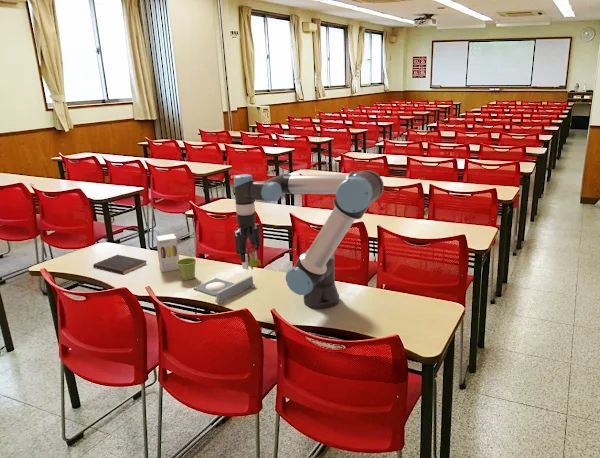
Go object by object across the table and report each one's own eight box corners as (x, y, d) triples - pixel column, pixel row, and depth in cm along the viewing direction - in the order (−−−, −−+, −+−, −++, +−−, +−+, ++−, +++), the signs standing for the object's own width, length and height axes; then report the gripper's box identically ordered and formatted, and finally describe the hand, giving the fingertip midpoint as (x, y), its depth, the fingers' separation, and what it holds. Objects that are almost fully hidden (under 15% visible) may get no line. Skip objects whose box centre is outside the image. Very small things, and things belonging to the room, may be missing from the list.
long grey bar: (255, 285, 226) (254, 276, 225) (221, 303, 210) (220, 294, 208) (249, 284, 229) (248, 275, 227) (214, 301, 212) (213, 292, 211)
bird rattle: (241, 273, 204) (255, 269, 198) (231, 249, 203) (245, 243, 197) (250, 268, 208) (265, 264, 203) (241, 244, 208) (255, 239, 202)
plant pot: (175, 281, 236) (172, 264, 233) (184, 273, 245) (182, 257, 242) (192, 282, 234) (190, 265, 231) (201, 274, 242) (199, 258, 240)
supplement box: (161, 272, 247) (157, 240, 242) (159, 266, 256) (154, 236, 251) (180, 268, 251) (177, 237, 246) (177, 263, 259) (173, 233, 254)
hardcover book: (118, 258, 272) (117, 254, 271) (147, 264, 261) (146, 260, 260) (93, 268, 259) (92, 264, 258) (123, 275, 247) (122, 271, 247)
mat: (236, 285, 228) (236, 284, 228) (214, 296, 217) (214, 294, 217) (215, 279, 236) (215, 277, 236) (193, 289, 226) (193, 288, 225)
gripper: (253, 206, 207) (257, 258, 213) (223, 217, 193) (228, 272, 200) (267, 208, 202) (270, 261, 209) (237, 219, 189) (241, 275, 195)
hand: (250, 266), depth 204 cm, fingers closed on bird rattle, 5 cm apart
